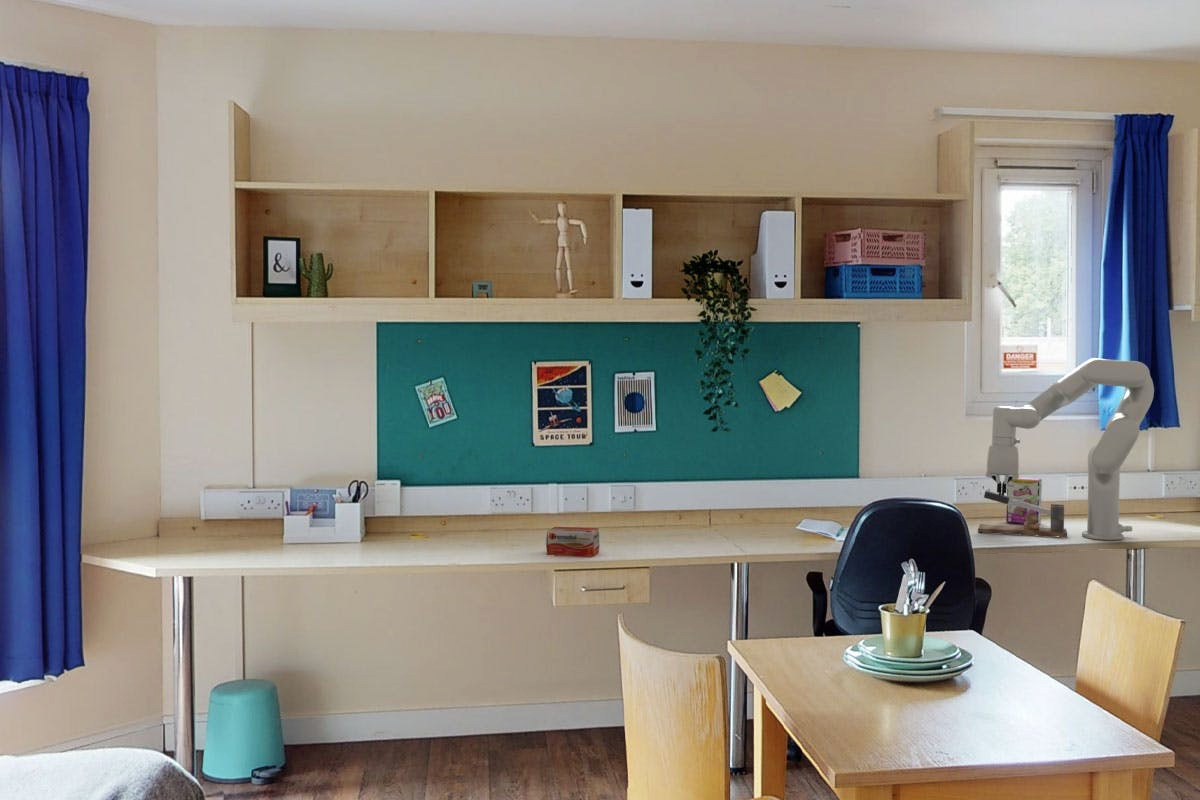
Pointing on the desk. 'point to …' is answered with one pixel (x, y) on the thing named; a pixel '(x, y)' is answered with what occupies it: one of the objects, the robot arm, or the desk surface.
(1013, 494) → the candy bar box
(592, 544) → the medicine box
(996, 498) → the lever
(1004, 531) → the press base
